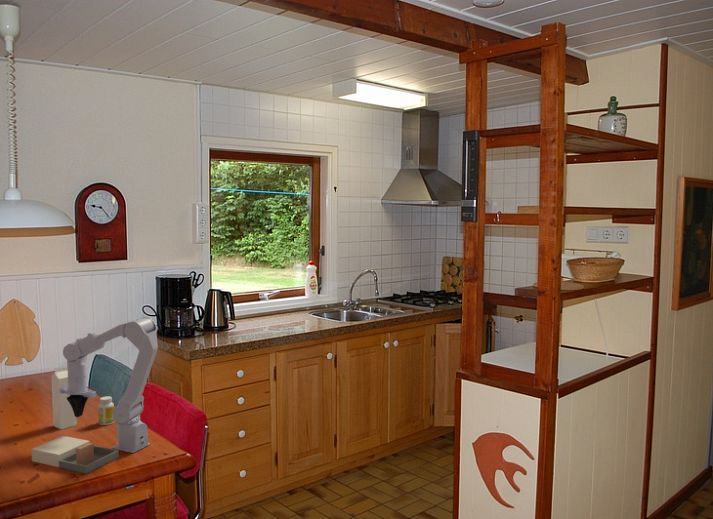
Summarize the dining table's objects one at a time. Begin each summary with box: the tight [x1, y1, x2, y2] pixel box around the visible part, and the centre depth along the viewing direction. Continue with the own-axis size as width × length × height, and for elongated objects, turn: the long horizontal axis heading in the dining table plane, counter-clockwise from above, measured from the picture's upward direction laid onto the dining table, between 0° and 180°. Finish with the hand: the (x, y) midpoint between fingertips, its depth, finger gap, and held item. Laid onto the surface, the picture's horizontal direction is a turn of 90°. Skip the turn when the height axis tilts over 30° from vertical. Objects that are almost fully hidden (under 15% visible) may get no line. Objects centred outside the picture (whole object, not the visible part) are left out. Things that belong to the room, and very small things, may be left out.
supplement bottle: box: [97, 395, 115, 426], centre depth 225 cm, size 5×5×10 cm
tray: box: [58, 445, 120, 475], centre depth 191 cm, size 11×13×2 cm
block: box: [76, 442, 94, 465], centre depth 191 cm, size 5×5×2 cm
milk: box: [50, 365, 78, 430], centre depth 222 cm, size 6×6×22 cm
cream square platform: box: [30, 435, 91, 468], centre depth 195 cm, size 12×12×4 cm
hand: (78, 416), depth 206 cm, fingers closed
